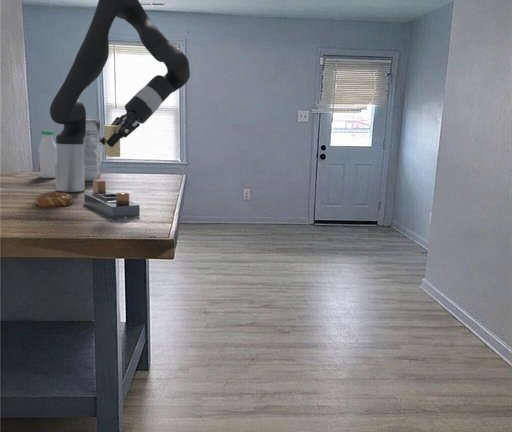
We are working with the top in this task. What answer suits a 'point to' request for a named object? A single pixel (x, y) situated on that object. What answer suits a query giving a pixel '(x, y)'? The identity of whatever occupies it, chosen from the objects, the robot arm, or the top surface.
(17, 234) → the top surface
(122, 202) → the plane body
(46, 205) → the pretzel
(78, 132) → the robot arm
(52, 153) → the milk bottle
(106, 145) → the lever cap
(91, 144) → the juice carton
